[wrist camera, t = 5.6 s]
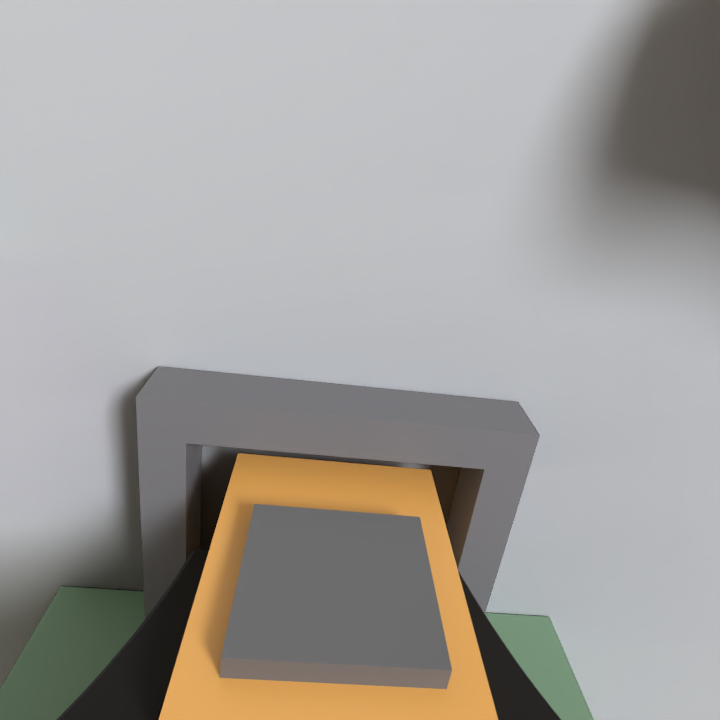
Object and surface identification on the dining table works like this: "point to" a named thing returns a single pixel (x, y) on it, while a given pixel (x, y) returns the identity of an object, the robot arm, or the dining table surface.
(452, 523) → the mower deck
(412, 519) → the chute block
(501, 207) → the dining table surface
